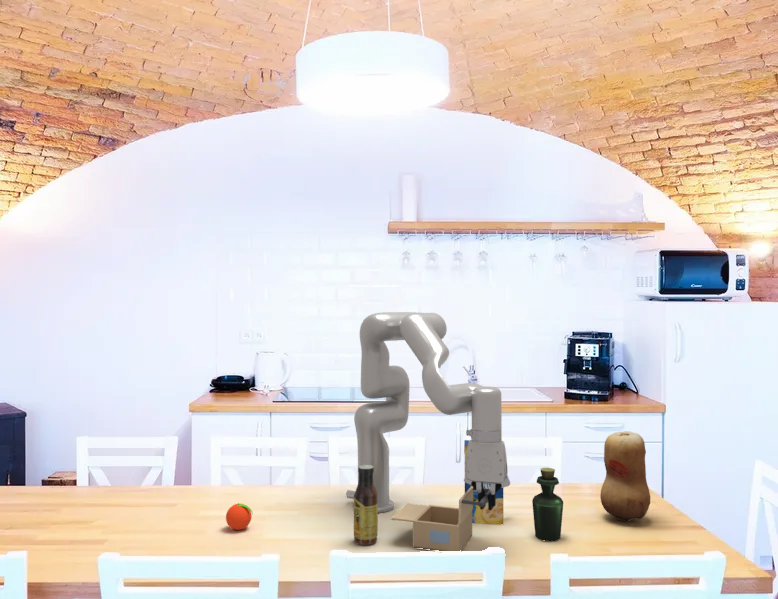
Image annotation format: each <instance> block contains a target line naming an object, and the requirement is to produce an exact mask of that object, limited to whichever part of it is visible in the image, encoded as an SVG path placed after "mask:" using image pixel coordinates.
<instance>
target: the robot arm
mask: <svg viewBox="0 0 778 599" xmlns="http://www.w3.org/2000/svg"><path fill="white" fill-rule="evenodd" d="M362 320H363V321H362V322H361V325H360V327H359V341H360V347H361V348H360V349H361V360H360V362H361V363H360V392H361V394H362V396H363V397H365V398H367V399H372V400H373V399H374V400H375V399H384V398H385V401H383V400H382V401H375V402H369V403H365V404H362V405H360V406H359V407H358V408H357V409H356V410H355V413H354V419H353V422H354V427H355V432H356V440H357V468H358V467H359V466H361V465H372V466H373V467H374V472H373V485H374V487H375V488H376V490H377V503H378V513H386V512H388V511H392V510H393V509H394V508H395V501H393V500H391V498H390V447H389V445H388V442H387V440H386V438H385V437H384V436H385V435H384V434H386V433H390V432H397V431H400V430H402V429H403V428H405V426H406V425H407V423H408V420H409V408H410V407H409V406H410V387H411V386H410V385H411V384H410V378H409V375H408V373H407V372H406V370H405V369H404V368H403V367H402V366H400V365H390V351H389V348H388V346H387V344H386V343H385V342H391V341H392V342H396V341H405V342H406V345H408V347H409V349H410V350H411V352H413V354H414V356H415V357H416V359H417V360H418V361H419V363H420V364H421V366H422V370H421V380H422V387H423V389H424V392H425V394H426V395H427V397H428V398H429V400H430V401H431V403H432V404H433V405H434V407H435V408H436V409H437V410H438V411H439V412H440V413H441V414H443V415H446V416H448V415H449V416H453V415H458V414H465V413H471V428H470V429H467V430H466V431H465V434H466V436H469V437H470V439H469V442H468V447H467V455H466V469H465V468H464V478H463V482H464V483H465V482H466V483H468V484H470V485H472V486H473V487H474V488H475V490H476V491H477V493H478V502H480V501H481V499H482V498H483V497H484V496H485V494H486V492H485V491H484V489H483V482H485V483H491V487H490V493H489V495H488V510H492V509H493V507H494V506H495V505H496V492H497V491H498V490H499V489H500V488H503V489H504V488H508V487H509V486H510V485H511V481H510V478H509V476H508V472H509V471H508V460H507V459H508V458H507V450H506V449H507V448H506V445H505V441H504V440H502V439H503V437H502V436H503V435H502V434H503V433H502V425H503V424H502V392H501V391H502V390H501V389H500V388H498V387H494V386H485V385H484V386H483V385H480V384H478V383H475V382H466V383H457V384H449V383H448V382H447V381H446V380H445V377H443V375H442V373H441V371H440V367H441V366H442V365H443V364H445V362H447V360H448V358H449V356H450V349H449V348H448V346H447V345H446V343H445V342H444V341H443V340H442V339H444V338H445V336H446V335H447V332H448V331H447V330H448V328H447V327H448V326H447V324H446V321H445V320H444V318H443V317H442V315H440V314H438V313H436V312H416V311H415V312H412V311H404V312H403V311H402V312H401V311H397V312H396V311H393V312H392V311H387V312H385V311H384V312H383V311H382V312H376V313H373V314H372V313H371V314H370V315H368V316H366V317H365V318H364V319H362ZM358 481H359V473H358V472H357V482H358ZM355 491H356V490H351V489H350V490H349V489H347V490H346V494H345V495H346V496H345V497H346V498H347V499H353V500H354V494H355ZM485 506H486V504H485V505H484V507H485ZM484 507H480V509H484ZM352 508H353V509H354V501H353V502H352Z"/></svg>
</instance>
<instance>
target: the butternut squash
mask: <svg viewBox="0 0 778 599" xmlns="http://www.w3.org/2000/svg"><path fill="white" fill-rule="evenodd" d="M603 447H604V448H603V452H604V453H603V462H604V467H605V472H606V473H605V478H604V481H603V483H602V486H601V489H600V502H601V505H602V507H603V509H604V511H606V513H608V514H609V515H611V516H612V517H614V518H615V519H617V520H619V521H623V522H630V521H631V520H635V519H636V520H637V519H638V520H639V519H642V518H644V517H645V516H646V514H647V513H648V510H649V508H650V504H651V492H650V489H649V484H648V482H647V472H646V467H647V466H646V452H647V451H646V445H645V440H644V438H643V437H642V436H641V435H640V434H639V433H636V432H633V431H625V430H624V431H618V432H613V433H610V434H608V436H607V437H606V439H605V441H604V446H603Z"/></svg>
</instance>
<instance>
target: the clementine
mask: <svg viewBox="0 0 778 599" xmlns="http://www.w3.org/2000/svg"><path fill="white" fill-rule="evenodd" d="M252 515H254V514H253V510H252V509H251V507H249V506H248V505H247V504H244V503H239V502H238V503H234V504H233V505H231V507H229V508H228V509H227V510H226V515H225V522H226V523H227V525H228V527H229V528H231V529H232V530H235V531H240V530H244V529H246V528H247V527H249V525H250V523H251V521H252V517H253V516H252Z"/></svg>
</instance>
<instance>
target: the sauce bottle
mask: <svg viewBox="0 0 778 599" xmlns="http://www.w3.org/2000/svg"><path fill="white" fill-rule="evenodd" d="M373 472H374V467H373V466H372V465H361V466H359V467H358V466H357V474H358V473H359V481H358V480H357V487H356V488H355V490H354V491H355V494H354V499H353V502H354V508H353V540H354V542H355V543H356V544H357V545H360V546H361V545H363V546H368V545H373V544H375V543H376V542H377V540H378V523H379V522H378V521H379V520H378V503H377V490H376V488H375V487H374V485H373Z"/></svg>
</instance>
